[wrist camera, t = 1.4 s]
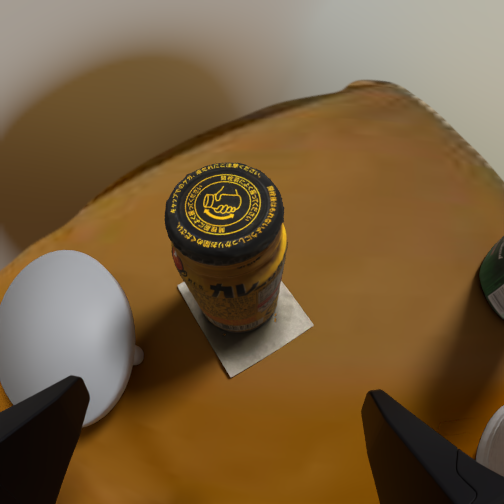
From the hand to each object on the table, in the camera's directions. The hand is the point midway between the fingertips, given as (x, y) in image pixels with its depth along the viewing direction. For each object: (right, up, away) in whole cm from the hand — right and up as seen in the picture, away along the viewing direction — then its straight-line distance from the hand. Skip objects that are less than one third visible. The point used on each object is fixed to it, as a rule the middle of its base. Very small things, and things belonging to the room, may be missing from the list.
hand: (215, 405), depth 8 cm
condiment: (0, 0, +15) cm, 15 cm away
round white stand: (-14, -4, +13) cm, 19 cm away
